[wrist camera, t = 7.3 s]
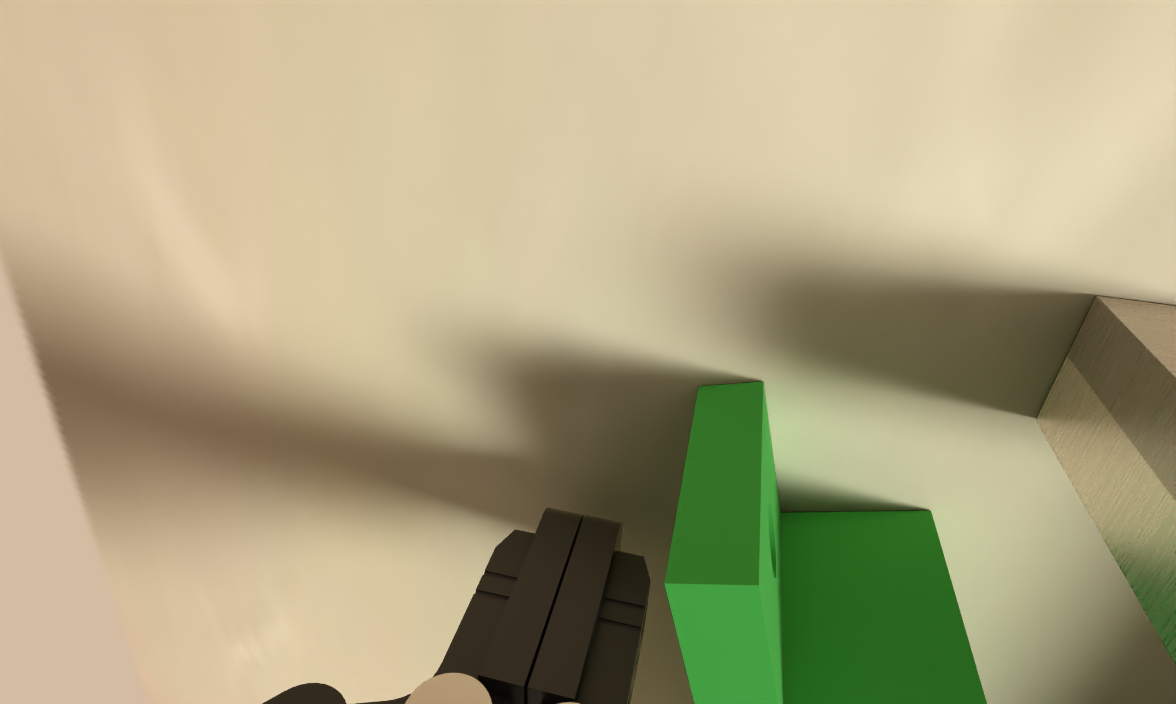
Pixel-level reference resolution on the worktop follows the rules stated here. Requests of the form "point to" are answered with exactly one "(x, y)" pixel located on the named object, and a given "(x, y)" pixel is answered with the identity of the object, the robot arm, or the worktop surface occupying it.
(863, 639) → the pipe clamp
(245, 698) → the worktop surface
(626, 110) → the worktop surface
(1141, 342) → the grey u-shaped bracket
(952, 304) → the worktop surface
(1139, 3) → the worktop surface
